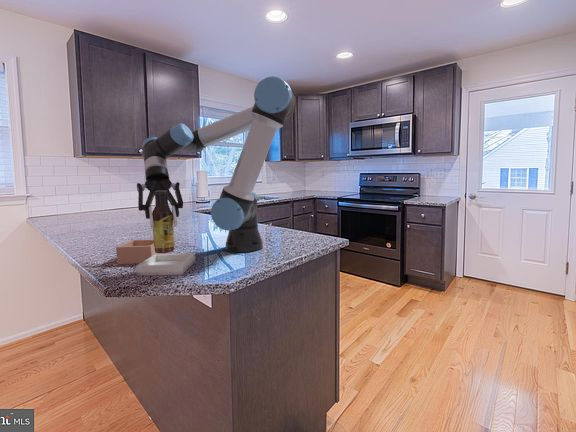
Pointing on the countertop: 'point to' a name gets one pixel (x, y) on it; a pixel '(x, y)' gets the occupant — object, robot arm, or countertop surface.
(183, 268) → the tray
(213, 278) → the countertop surface
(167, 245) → the sauce bottle
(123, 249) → the holder
